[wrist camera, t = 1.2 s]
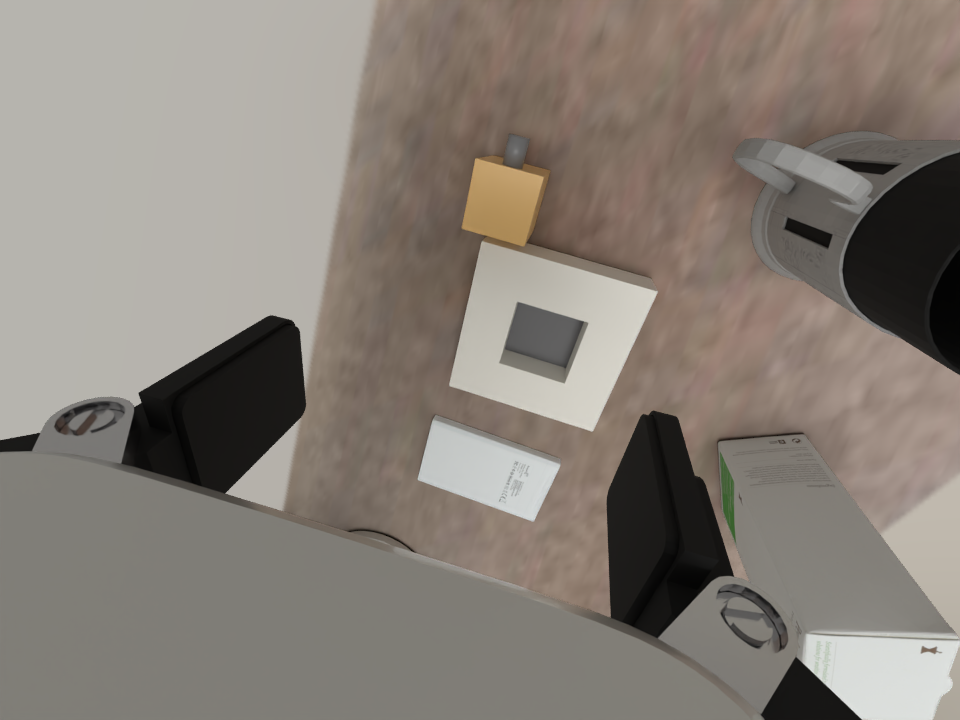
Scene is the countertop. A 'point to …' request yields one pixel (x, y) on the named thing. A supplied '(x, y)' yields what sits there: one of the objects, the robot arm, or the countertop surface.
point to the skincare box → (834, 580)
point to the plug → (505, 194)
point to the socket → (548, 330)
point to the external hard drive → (487, 468)
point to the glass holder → (867, 229)
